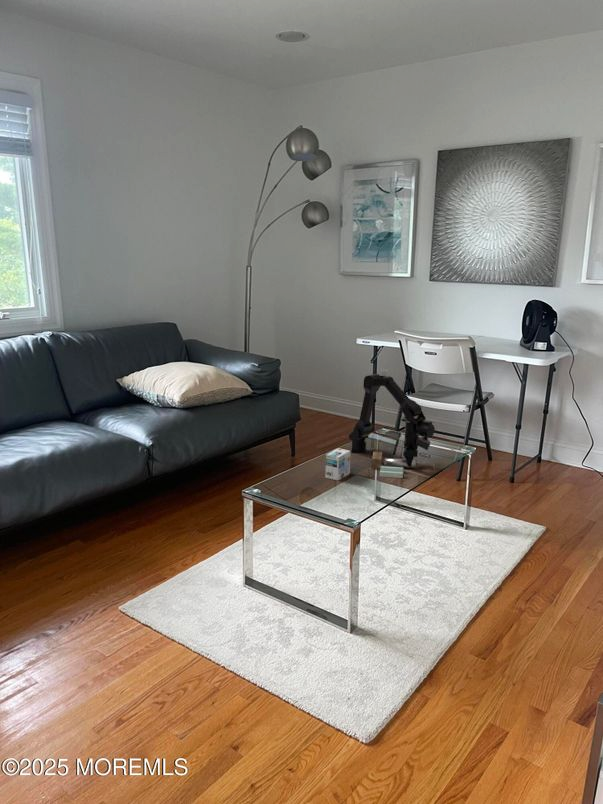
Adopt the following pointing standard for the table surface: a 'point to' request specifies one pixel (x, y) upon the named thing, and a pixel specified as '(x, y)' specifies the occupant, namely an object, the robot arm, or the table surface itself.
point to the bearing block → (376, 460)
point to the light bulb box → (338, 464)
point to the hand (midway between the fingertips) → (409, 465)
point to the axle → (398, 462)
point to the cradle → (391, 472)
